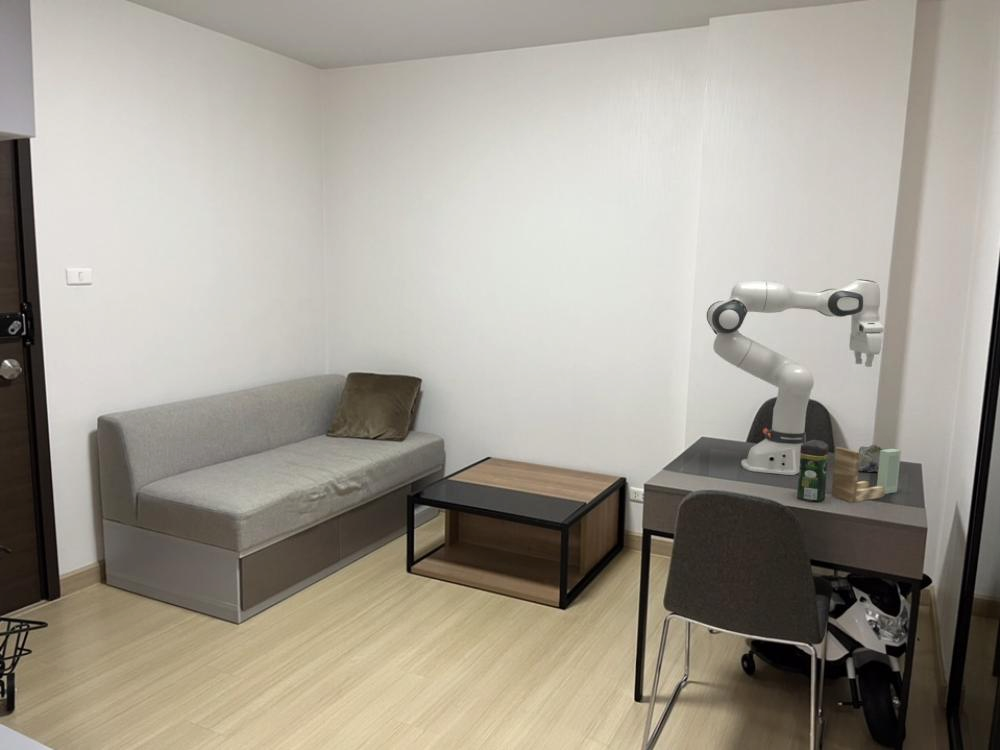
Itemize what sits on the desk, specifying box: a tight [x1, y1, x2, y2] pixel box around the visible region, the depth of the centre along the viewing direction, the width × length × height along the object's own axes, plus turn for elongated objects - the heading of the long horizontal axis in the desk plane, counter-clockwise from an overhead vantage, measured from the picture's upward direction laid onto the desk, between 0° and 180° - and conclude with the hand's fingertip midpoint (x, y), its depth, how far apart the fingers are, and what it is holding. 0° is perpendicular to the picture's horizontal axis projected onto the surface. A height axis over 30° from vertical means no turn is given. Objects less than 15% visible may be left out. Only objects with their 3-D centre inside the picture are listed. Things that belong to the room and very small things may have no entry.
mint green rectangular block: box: [876, 448, 902, 495], centre depth 251 cm, size 6×3×14 cm, turn 115°
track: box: [831, 446, 885, 503], centre depth 245 cm, size 15×8×16 cm, turn 115°
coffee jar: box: [796, 439, 829, 502], centre depth 242 cm, size 10×8×19 cm
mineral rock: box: [858, 444, 884, 473], centre depth 275 cm, size 13×11×10 cm
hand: (863, 365), depth 268 cm, fingers open, 8 cm apart
